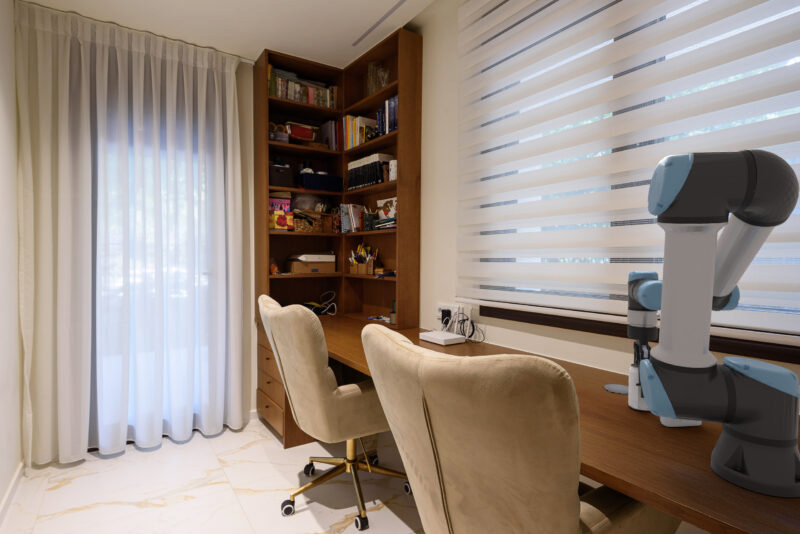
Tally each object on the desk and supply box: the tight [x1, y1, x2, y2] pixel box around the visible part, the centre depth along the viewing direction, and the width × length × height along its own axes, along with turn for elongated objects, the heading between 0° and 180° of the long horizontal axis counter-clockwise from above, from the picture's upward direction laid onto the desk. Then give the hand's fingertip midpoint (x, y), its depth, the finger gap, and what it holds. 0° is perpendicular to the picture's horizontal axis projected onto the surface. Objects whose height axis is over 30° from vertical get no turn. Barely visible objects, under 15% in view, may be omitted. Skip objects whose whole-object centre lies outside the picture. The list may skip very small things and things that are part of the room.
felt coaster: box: [603, 383, 629, 395], centre depth 140 cm, size 9×9×1 cm
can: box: [627, 363, 651, 412], centre depth 123 cm, size 6×6×12 cm
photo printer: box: [659, 416, 703, 428], centre depth 112 cm, size 10×4×12 cm, turn 98°
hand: (641, 404), depth 123 cm, fingers closed on can, 6 cm apart
